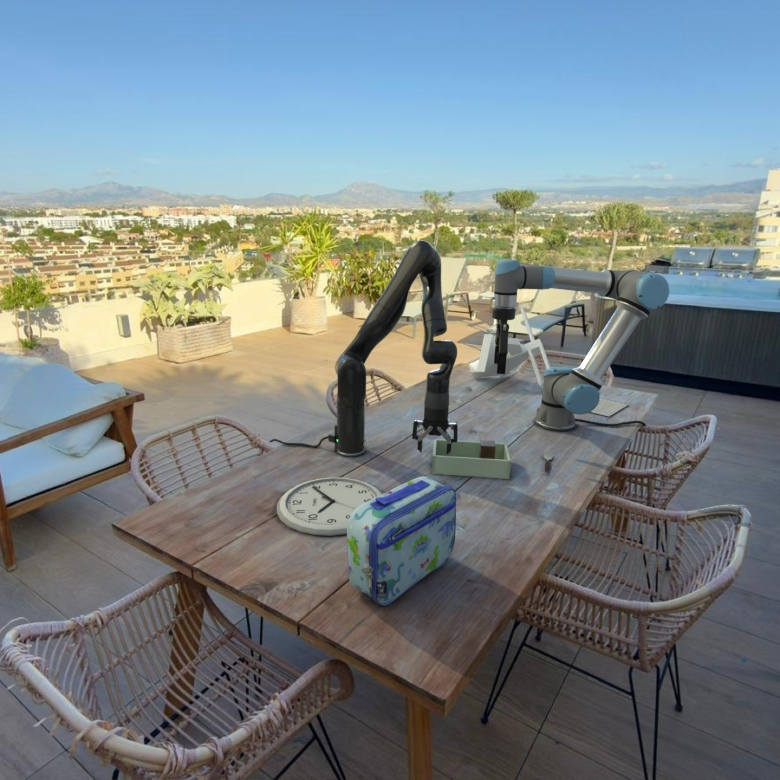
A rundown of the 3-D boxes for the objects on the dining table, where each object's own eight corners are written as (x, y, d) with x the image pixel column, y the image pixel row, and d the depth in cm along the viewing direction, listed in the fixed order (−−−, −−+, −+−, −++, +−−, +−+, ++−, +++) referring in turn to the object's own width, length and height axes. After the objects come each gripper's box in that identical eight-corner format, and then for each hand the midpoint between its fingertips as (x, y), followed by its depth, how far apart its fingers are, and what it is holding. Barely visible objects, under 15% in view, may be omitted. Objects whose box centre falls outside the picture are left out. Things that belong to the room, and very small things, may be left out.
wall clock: (392, 527, 129) (268, 531, 127) (391, 533, 130) (269, 537, 127) (383, 473, 158) (282, 475, 155) (383, 478, 158) (282, 480, 156)
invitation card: (608, 416, 214) (573, 407, 224) (608, 416, 214) (573, 408, 224) (628, 404, 229) (594, 396, 238) (628, 405, 229) (594, 397, 238)
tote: (505, 460, 173) (506, 443, 171) (509, 479, 160) (511, 461, 158) (433, 455, 175) (434, 439, 173) (431, 473, 162) (432, 456, 160)
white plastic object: (490, 419, 265) (470, 397, 240) (471, 347, 287) (451, 319, 262) (561, 395, 253) (548, 369, 228) (536, 321, 275) (521, 290, 250)
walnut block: (492, 463, 168) (494, 440, 166) (493, 470, 164) (495, 446, 162) (478, 463, 169) (480, 440, 166) (479, 469, 164) (481, 445, 162)
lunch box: (376, 619, 101) (377, 524, 95) (340, 592, 109) (339, 502, 102) (459, 562, 119) (465, 479, 113) (424, 542, 126) (427, 463, 120)
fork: (540, 473, 163) (541, 467, 163) (544, 453, 178) (545, 448, 177) (549, 474, 162) (550, 468, 162) (552, 454, 177) (553, 449, 176)
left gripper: (459, 402, 164) (456, 449, 169) (414, 398, 166) (412, 446, 171) (459, 409, 157) (456, 459, 162) (412, 406, 159) (410, 455, 164)
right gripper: (490, 301, 187) (486, 359, 193) (495, 312, 163) (490, 377, 170) (511, 302, 186) (506, 360, 192) (520, 313, 162) (514, 378, 169)
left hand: (434, 452), depth 166 cm, fingers open, 8 cm apart
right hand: (499, 368), depth 181 cm, fingers open, 13 cm apart
